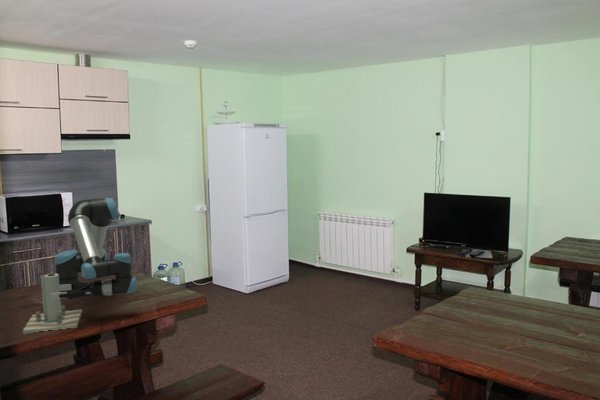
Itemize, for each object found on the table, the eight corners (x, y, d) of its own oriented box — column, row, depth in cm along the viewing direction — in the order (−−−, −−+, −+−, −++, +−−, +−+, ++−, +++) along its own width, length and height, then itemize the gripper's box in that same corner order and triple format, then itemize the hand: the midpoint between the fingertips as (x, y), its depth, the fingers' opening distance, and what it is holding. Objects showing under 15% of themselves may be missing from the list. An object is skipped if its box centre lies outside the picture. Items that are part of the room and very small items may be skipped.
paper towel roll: (64, 318, 238) (61, 274, 236) (51, 322, 234) (48, 277, 231) (56, 315, 243) (53, 272, 240) (44, 319, 238) (40, 274, 235)
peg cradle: (33, 317, 245) (32, 305, 244) (82, 312, 252) (81, 300, 251) (23, 333, 224) (21, 320, 224) (76, 327, 231) (76, 315, 230)
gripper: (101, 303, 231) (49, 308, 225) (105, 288, 255) (58, 292, 248) (100, 287, 230) (48, 291, 224) (104, 273, 254) (57, 277, 248)
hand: (54, 292), depth 236 cm, fingers open, 13 cm apart
